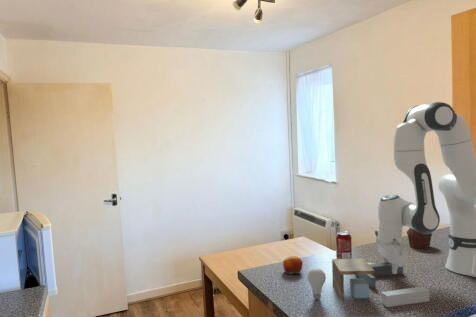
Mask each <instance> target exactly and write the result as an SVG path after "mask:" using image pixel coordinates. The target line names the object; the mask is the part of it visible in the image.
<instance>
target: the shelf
mask: <svg viewBox="0 0 476 317" xmlns="http://www.w3.org/2000/svg"><path fill="white" fill-rule="evenodd" d="M331 260H332V261H331V264H332V265H331V266H332V267H331V268H332V269H331V270H332V271H331V273H332V274H331V275H332V287H333V289H334V290H335V293H336V294H337V296H338V298H339V299H340V301H345V292H344V291H345V290H344V289H345V285H344V284H345V283H344V282H345V280H344V278H345V275H346V276H347V275H350V276H351V275H355V274H375V270H374V269H373V268H372V267H371V266H370V265H369V264H368V263H369V262H368V263H367V261H366V260H365V259H364V258H351V259H338V258H332V259H331Z"/></svg>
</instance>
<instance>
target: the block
mask: <svg viewBox="0 0 476 317" xmlns="http://www.w3.org/2000/svg"><path fill="white" fill-rule="evenodd" d="M349 292H350V294H351V296H353V298H354V299H370V287H369V284H368V283H367V281H366V280H365V279H364V278H358V277H357V278H349Z"/></svg>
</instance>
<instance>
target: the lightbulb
mask: <svg viewBox="0 0 476 317" xmlns="http://www.w3.org/2000/svg"><path fill="white" fill-rule="evenodd" d="M326 279H327V278H326V274H325V272H324V271H323V270H322V269H321V268H319V267H313V268H311V269H310V270H309V271H308V272H307V281H308V282H309V285H310V286H311V292H312V296H313V297H312V298H313V299H314V300H316V301H318V300H320V299H321V298H322V292H323V291H322V290H323V289H322V288H323V286H324V284H325V282H326Z"/></svg>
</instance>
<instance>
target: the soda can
mask: <svg viewBox="0 0 476 317" xmlns="http://www.w3.org/2000/svg"><path fill="white" fill-rule="evenodd" d="M336 233H337V234H336V236H335V246H336V247H335V258H336V259H353V257H352V255H353V253H352V252H353V251H352V250H353V249H352V236H351V233H350V232H349V231H345V230H341V231H337V232H336Z"/></svg>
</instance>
